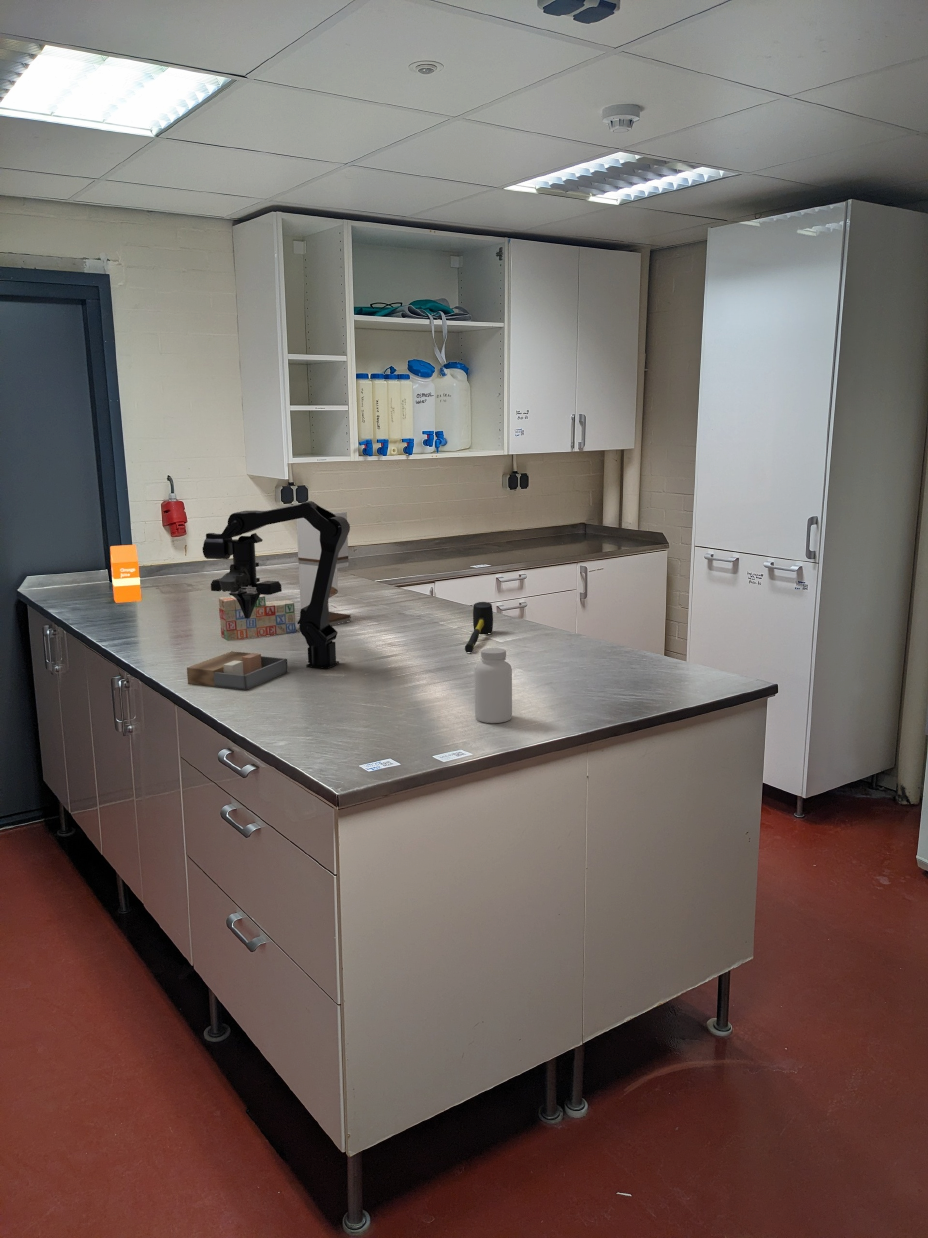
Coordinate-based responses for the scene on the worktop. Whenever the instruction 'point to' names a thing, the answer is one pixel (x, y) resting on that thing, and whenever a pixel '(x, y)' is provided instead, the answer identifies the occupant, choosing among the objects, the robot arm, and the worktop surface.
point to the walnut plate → (211, 668)
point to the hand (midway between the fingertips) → (247, 618)
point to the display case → (309, 564)
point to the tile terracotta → (251, 663)
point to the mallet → (480, 623)
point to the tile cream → (234, 667)
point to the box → (252, 675)
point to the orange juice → (125, 573)
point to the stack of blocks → (256, 618)
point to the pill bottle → (493, 687)
